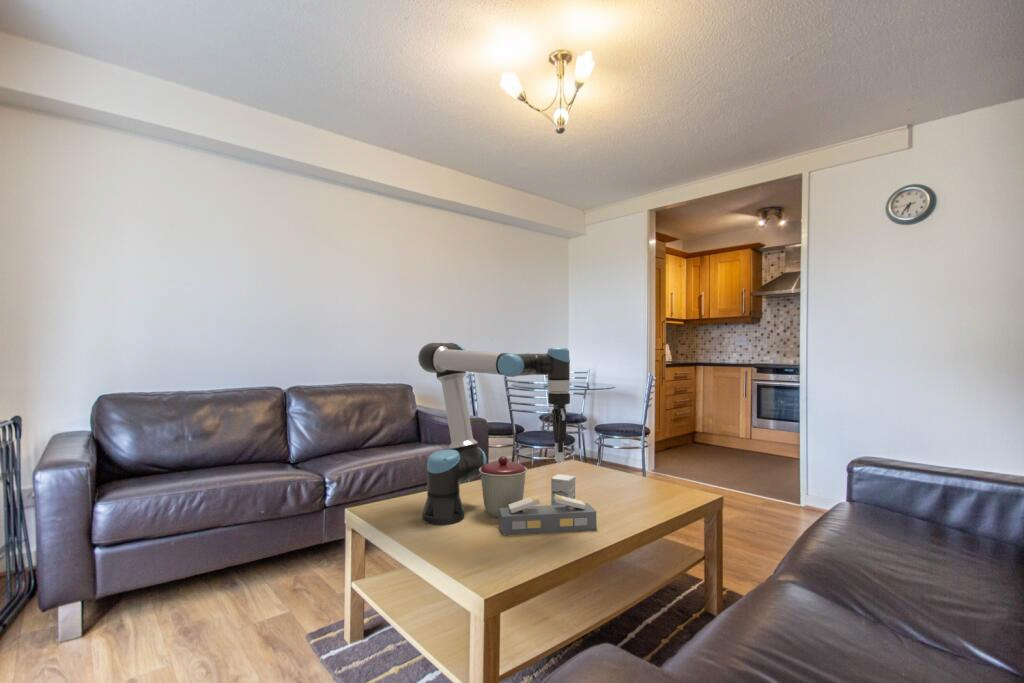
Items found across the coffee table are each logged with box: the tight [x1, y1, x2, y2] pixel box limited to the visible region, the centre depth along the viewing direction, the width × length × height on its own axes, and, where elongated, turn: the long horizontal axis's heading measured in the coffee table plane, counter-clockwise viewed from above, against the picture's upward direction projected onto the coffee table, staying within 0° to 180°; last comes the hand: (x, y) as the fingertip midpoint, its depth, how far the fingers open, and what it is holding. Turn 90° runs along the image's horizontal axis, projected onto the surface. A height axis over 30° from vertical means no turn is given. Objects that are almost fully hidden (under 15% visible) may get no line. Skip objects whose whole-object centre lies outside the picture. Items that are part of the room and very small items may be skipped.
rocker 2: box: [554, 494, 586, 509], centre depth 163 cm, size 10×5×2 cm, turn 98°
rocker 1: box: [509, 494, 540, 513], centre depth 161 cm, size 10×5×2 cm, turn 99°
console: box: [498, 502, 598, 536], centre depth 162 cm, size 32×9×8 cm, turn 98°
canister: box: [479, 456, 528, 519], centre depth 176 cm, size 18×18×21 cm
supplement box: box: [550, 473, 576, 505], centre depth 180 cm, size 7×7×13 cm
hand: (559, 461), depth 163 cm, fingers closed
